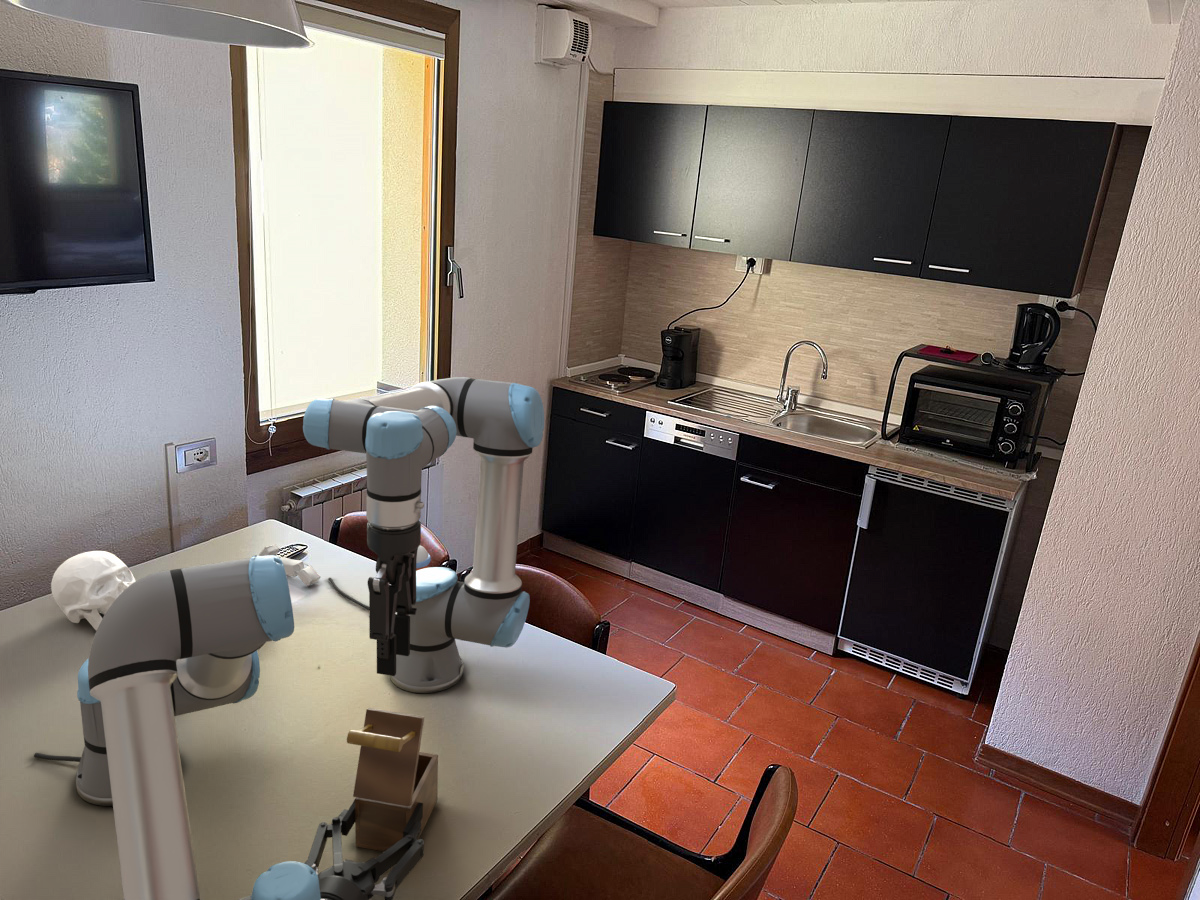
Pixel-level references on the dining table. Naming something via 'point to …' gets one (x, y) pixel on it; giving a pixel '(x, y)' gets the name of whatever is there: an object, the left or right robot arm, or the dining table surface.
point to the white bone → (294, 566)
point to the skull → (89, 585)
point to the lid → (387, 756)
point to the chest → (396, 809)
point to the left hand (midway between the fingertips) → (390, 804)
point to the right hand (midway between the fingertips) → (393, 663)
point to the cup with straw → (422, 558)
